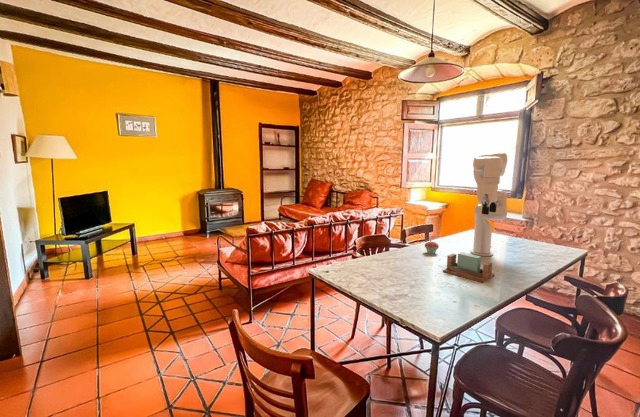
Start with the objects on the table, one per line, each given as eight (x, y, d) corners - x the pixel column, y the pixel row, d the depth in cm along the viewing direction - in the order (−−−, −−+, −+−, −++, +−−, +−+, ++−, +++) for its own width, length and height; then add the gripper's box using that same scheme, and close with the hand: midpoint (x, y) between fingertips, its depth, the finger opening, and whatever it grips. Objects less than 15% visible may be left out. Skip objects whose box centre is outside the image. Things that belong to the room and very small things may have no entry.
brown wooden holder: (455, 265, 166) (456, 252, 165) (494, 275, 151) (495, 260, 150) (442, 271, 157) (443, 257, 156) (483, 282, 142) (484, 266, 141)
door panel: (460, 268, 159) (461, 252, 158) (480, 273, 152) (481, 256, 150) (456, 270, 157) (457, 253, 155) (476, 275, 149) (478, 258, 148)
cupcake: (433, 255, 185) (434, 236, 183) (421, 252, 192) (422, 234, 190) (440, 252, 191) (441, 234, 189) (428, 250, 197) (429, 232, 195)
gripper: (490, 180, 164) (487, 210, 167) (476, 181, 153) (474, 214, 156) (505, 180, 159) (502, 212, 161) (492, 182, 148) (490, 215, 150)
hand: (488, 213), depth 158 cm, fingers open, 9 cm apart
